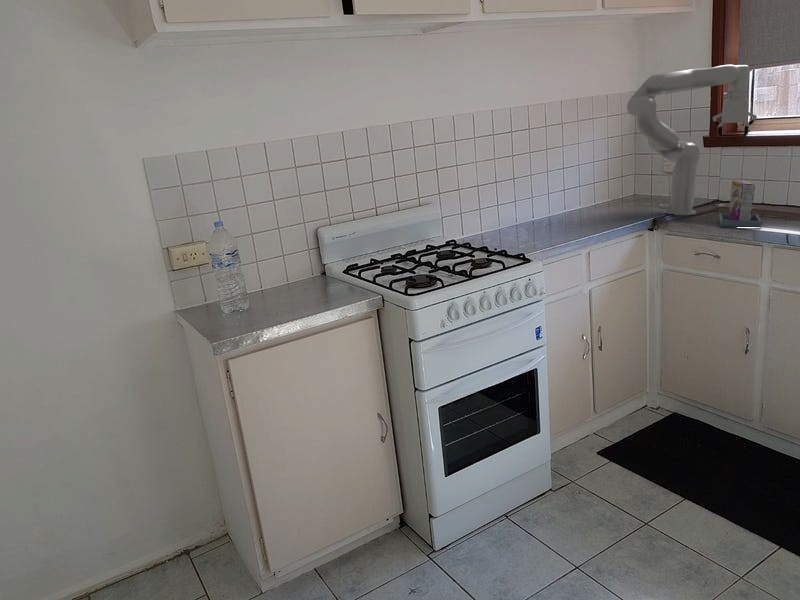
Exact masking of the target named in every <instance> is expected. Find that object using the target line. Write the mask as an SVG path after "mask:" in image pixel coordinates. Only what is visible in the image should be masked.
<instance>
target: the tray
mask: <svg viewBox="0 0 800 600" xmlns="http://www.w3.org/2000/svg"><path fill="white" fill-rule="evenodd" d="M728 217H729V213H719V216H718V223H719V227H720V228H721V229H738V228H737V227H761V226H762V221H761V218H760V217H759V215H758V214H751V221H738V220H728ZM761 228H762V227H761Z"/></svg>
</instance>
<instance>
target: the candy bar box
mask: <svg viewBox="0 0 800 600" xmlns="http://www.w3.org/2000/svg"><path fill="white" fill-rule="evenodd" d="M755 185H756V183H752V182H749V181H746V180H732V181H731V190H730V201H729V209H728V214H729V217H728V220H738V221H751V215H753V203H754V197H755Z"/></svg>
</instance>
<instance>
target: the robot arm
mask: <svg viewBox="0 0 800 600" xmlns="http://www.w3.org/2000/svg"><path fill="white" fill-rule="evenodd" d="M749 76H750V66H749V65H747V64H736V65H735V64H724V65H723V64H722V65H718V66H714V67H708V68H690V69H685V70H679V71H678V70H677V71H671V72H666V73H659V74H652V75H650V76H649V77H648V78H647V79H646V80H645V81H644V82H643V83H642V85H641V86H640V87H638V89H637V90H636V91H635V93H633V95H632V96H631V97H630V99H629V100H628V102H627V104H626V109H627V112H628V114H629V115H631V116H633V117H636V120H637V121H636V124H637V127H638V130H639V131H640V133H641V134H642V135H643V136H645V137H646V138H647V143H648V145H649V146H650V148H651V149H652V150H654V151H655V152H656V153H658V154H659V155H661V157H663V158H665V159H666V160H667V161H669V162H671V163H675V164H674V167H673V170H672V175H671V187H670V193H671V197H670V198H669V199H670V200H669V203H666V204H664V203H663V204H661V203H659V205H658V209H663V210H665V209H666V210H665V214H666V213H670V214H674V215H673V216H693V215H696V214H697V211H696V210H694V209H693V207H694V205H693V197H694V198H695V194H694V187H695V188H696V174H697V167H698V163H699V160H700V157H701V153H700V151H701V150H700V148H699V146H698V144H696V143H694V142H690V141H683V140H682V141H681V140H680V136H679V134H678V133H677V132H676V130H674V129H673V128H671V127H669V126H668V125H667V124H665V123H664V122H663V121H661V120H660V119H659V118H658V115H657V101H656V100H655V98H656V97H657V96H659V95H662V96H663V95H668V94H675V93H680V92H686V91H687V92H688V91H692V90H694V91H695V90H699V89H704V88H707V87H709V88H710V87H714V86H721V85H727V91H726V92H724V93H723V97H725V98H726V99H724V101H723V104H722V110H721V111H722V112H720V113H718V114H716V115H714V116H712V121H713V123H714V124H715V125H716V126H717V127H718V129H717V135H719V137H722V133H723V125H724V124H727V123H728V124H729V123H730V124H731V123H735V124H736V123H737V124H738V123H743V124H744V125H745V126H744V131H743V136H744V137H746V136H747V135H749V127H750V126H751V125H752V124H754V122H755V121H756V119H757V118H758V116H757V115H756V114H754V113H752V112H750V111H749V109H750V108H749V105H750V104H749V103H750V102H749V98H747V95H748V87H749V86H748V85H749ZM720 117H721V118H720ZM749 117H751V118H752V119H750V121H748V118H749ZM718 118H720V119H721V122H719V121H718V120H717V119H718ZM670 214H669V215H670Z"/></svg>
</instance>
